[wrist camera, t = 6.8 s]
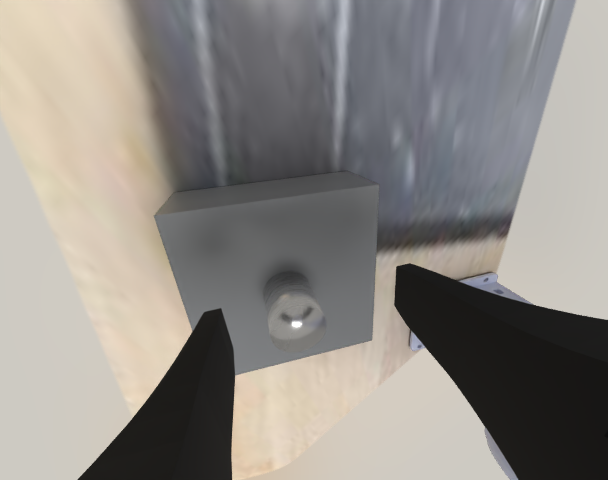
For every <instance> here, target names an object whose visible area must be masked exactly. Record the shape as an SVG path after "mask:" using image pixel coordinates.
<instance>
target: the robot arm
mask: <svg viewBox="0 0 608 480" xmlns="http://www.w3.org/2000/svg"><path fill="white" fill-rule="evenodd" d="M497 278H498V275H497V274H495V273H489V274H485V275H480V276H476V277H472V278H468V279H464V280H460V281H456V280H454V279H451V278H449V277H446V276H443V275H441V274H438V273H436V272H433V271H430V270H428V269H425V268H422V267H419V266H416V265H413V264H410V263H409V264H405V265H401V266H397V267H396V285H395V303H394V305H395V307H396V309H397V310H398V312H399V314H400V315H401V317H402V318H403V320H404V321H405V323H406V324H407V326H408V327H409V328H410V329H411V338H410V349H411V350H412V351H416V350H419V349H423V348H427V350H428V351H429V352H430V353H431V354H432V356H433V357H434V358H435V359H436V360H437V361H438V363H439V364H440V365H441V366H442V367H443V368H444V370H445V371H446V372H447V373H448V375H449V376H450V377H451V378H452V380H453V381H454V382H455V384H456V385H457V386H458V388H459V389H460V391H461V392H462V394H463V395H464V396H465V398H466V399H467V401H468V402H469V403H470V405H471V406H472V408H473V409H474V411H475V412H476V414H477V415H478V417H479V418H480V420H481V421H482V423H483V424H484V426H485V435H486V438H487V442H488V446H489V448H490V451H491V452H492V454H493V456H494V458H495V459H496V461H497V462H498V464H499V465H500V467H501V468H502V470H503V471H504V472H505V474H506V475H507V476H508V478H509V479H510V480H608V320H604V319H598V318H593V317H587V316H582V315H576V314H572V313H567V312H562V311H558V310H553V309H548V308H544V307H540V306H536V305H533V304H532V303H530V302H528V301H527V300H525V299H524V298H522V297H520V296H519V295H517V294H515V293H514V292H512V291H510V290H509V289H507V288H505V287H504V286H502V285H500V284H499V283H497ZM234 386H235V364H234V349H233V345H232V342H231V338H230V335H229V332H228V329H227V325H226V322H225V319H224V316H223V312H222V309H221V308H219V309H215V310H210V311H206V312H204V313H203V314H202V316H201V318H200V319H199V321H198V323H197V325H196V327H195V328H194V330H193V332H192V333H191V335H190V337H189V339H188V340H187V342H186V344H185V345H184V347H183V348H182V350H181V352H180V353H179V355H178V356H177V358H176V360H175V361H174V363H173V364H172V366H171V367H170V369H169V370H168V371H167V373H166V374H165V376H164V377H163V379H162V380H161V382H160V383H159V384H158V386H157V387H156V389H155V390H154V391H153V393H152V394H151V395H150V397H149V398H148V399H147V401H146V402H145V403H144V405H143V406H142V407H141V408H140V410H139V411H138V412H137V413H136V415H135V416H134V417H133V418H132V420H131V421H130V422H129V423H128V425H127V426H126V427H125V428H124V429H123V430H122V431H121V433H120V434H119V435H118V436H117V437H116V438H115V439H114V440H113V441H112V443H111V444H110V445H109V446H108V447H107V448H106V449H105V451H104V452H103V453H102V454H101V455H100V456H99V457H98V458H97V460H96V461H95V462H94V463H93V464H92V465H91V466H90V467H89V468H88V469H87V470H86V471H85V472H84V473H83V474H82V476H80V478H79V479H78V480H232V462H231V446H232V424H233V405H234Z"/></svg>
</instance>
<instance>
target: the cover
mask: <svg viewBox="0 0 608 480" xmlns="http://www.w3.org/2000/svg"><path fill="white" fill-rule="evenodd" d="M378 204H379V184H377V183H375V182H372V181H370V180H368V179H365V178H363V177H361V176H358V175H356V174H354V173H351V172H349V171H342V172H334V173H326V174H318V175H310V176H302V177H294V178H286V179H278V180H270V181H262V182H254V183H246V184H238V185H230V186H222V187H214V188H206V189H198V190H190V191H183V192H175V193H173V194H172V196H171V197H170V198H169V199H168V200H167V201H166V202H165V204H164V205H163V206H162V207H161V208H160V209H159V210H158V212H157V213H156V214H155V215H154V218H155V221H156V224H157V227H158V230H159V233H160V236H161V239H162V242H163V245H164V248H165V250H166V253H167V256H168V259H169V262H170V265H171V268H172V271H173V274H174V277H175V280H176V283H177V286H178V289H179V292H180V295H181V298H182V301H183V304H184V307H185V310H186V313H187V316H188V319H189V322H190V325H191V328H192V331H193V330H194V328H195V327H196V325H197V323H198V321H199V319H200V318H201V316H202V314H203V313H204V312H206V311H210V310H215V309H219V308H221V309H222V312H223V316H224V319H225V322H226V325H227V329H228V332H229V335H230V338H231V342H232V345H233V349H234V364H235V375H238V374H242V373H246V372H250V371H254V370H258V369H262V368H266V367H270V366H274V365H278V364H281V363H285V362H289V361H293V360H297V359H301V358H305V357H309V356H313V355H317V354H321V353H324V352H328V351H332V350H336V349H340V348H344V347H348V346H352V345H356V344H360V343H364V342H367V341H371V340H372V332H373V311H374V290H375V268H376V247H377V225H378Z"/></svg>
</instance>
